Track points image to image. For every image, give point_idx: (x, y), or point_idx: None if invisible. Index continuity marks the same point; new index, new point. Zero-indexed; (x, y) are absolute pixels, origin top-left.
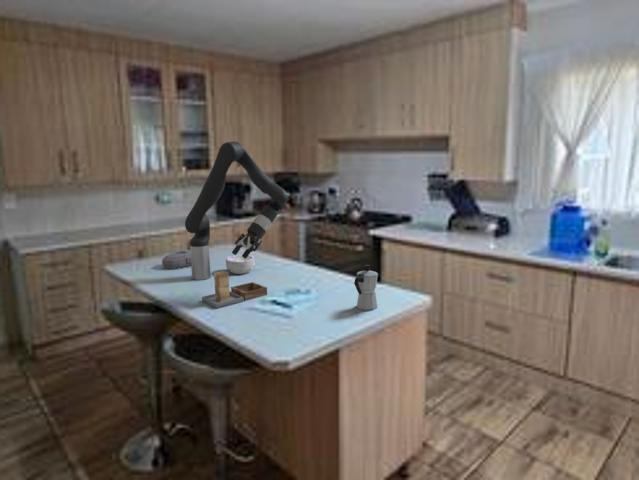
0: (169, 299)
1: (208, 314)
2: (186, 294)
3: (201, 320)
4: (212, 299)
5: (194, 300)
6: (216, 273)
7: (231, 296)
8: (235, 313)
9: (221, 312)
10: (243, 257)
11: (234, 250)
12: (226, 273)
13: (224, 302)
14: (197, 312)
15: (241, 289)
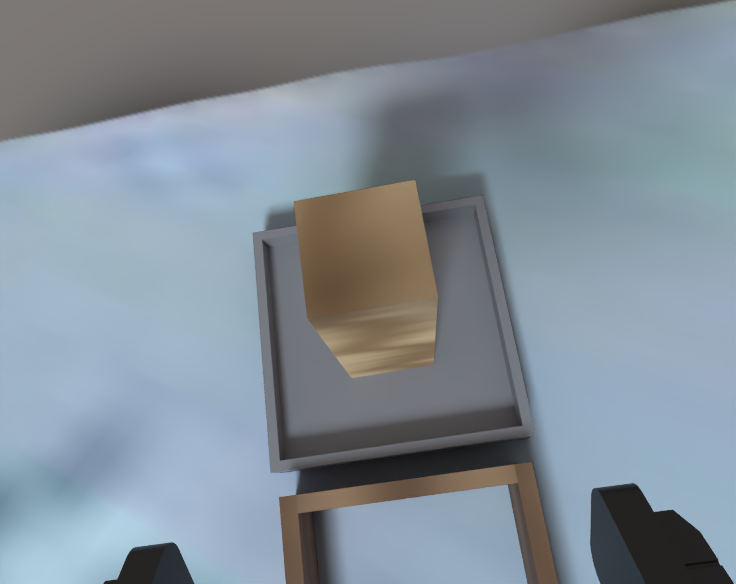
0: (644, 44)
1: (201, 174)
2: (711, 160)
3: (139, 116)
4: (436, 268)
5: (529, 173)
6: (375, 195)
7: (422, 422)
8: (101, 319)
9: (180, 250)
10: (188, 574)
11: (624, 551)
12: (305, 293)
13: (257, 295)
14: (278, 130)
15: (530, 575)
